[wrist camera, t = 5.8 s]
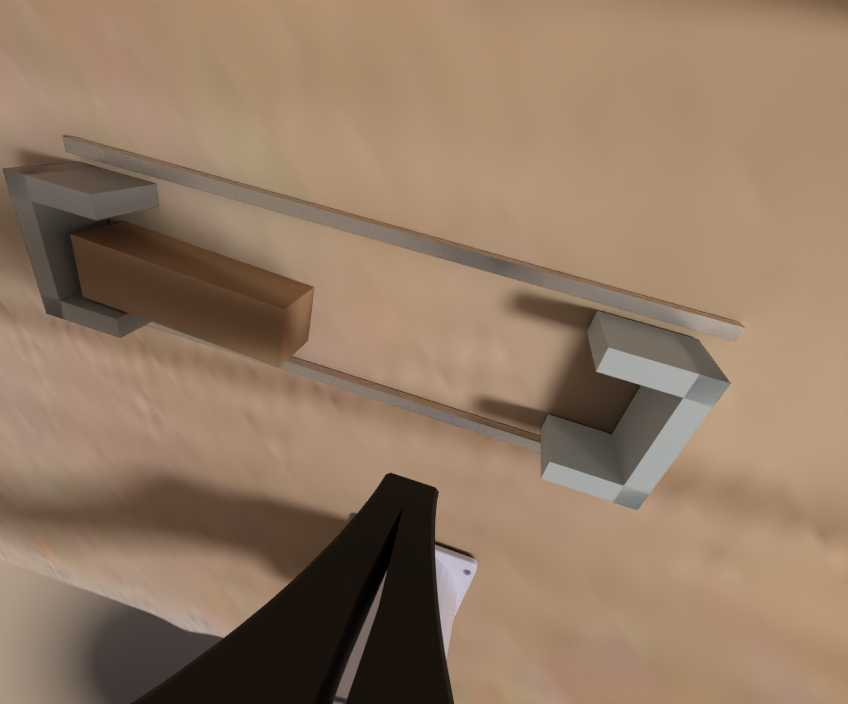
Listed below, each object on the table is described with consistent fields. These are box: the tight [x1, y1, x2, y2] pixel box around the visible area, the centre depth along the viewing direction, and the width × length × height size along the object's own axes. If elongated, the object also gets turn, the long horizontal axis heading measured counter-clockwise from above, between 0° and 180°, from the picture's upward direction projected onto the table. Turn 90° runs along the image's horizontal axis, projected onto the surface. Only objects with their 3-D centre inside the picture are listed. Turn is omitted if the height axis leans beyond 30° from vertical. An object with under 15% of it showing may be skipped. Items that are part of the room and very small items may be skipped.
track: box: [63, 137, 745, 453], centre depth 19 cm, size 9×29×1 cm, turn 78°
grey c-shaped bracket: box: [3, 162, 159, 338], centre depth 19 cm, size 6×4×3 cm, turn 168°
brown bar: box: [70, 222, 314, 368], centre depth 19 cm, size 3×10×3 cm, turn 75°
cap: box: [541, 311, 731, 510], centre depth 17 cm, size 6×4×3 cm, turn 168°
